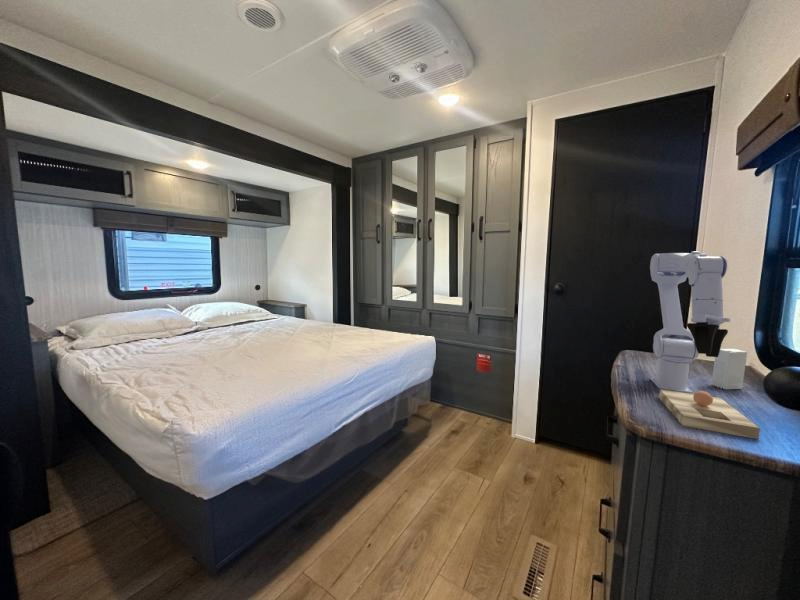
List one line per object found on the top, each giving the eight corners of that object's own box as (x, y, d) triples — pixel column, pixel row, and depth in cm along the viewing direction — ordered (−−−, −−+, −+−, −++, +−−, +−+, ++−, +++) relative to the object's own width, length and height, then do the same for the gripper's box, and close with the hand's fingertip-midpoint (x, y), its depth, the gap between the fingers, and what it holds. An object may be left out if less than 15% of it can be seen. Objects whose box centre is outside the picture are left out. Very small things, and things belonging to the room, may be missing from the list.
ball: (690, 401, 83) (691, 387, 82) (708, 403, 81) (710, 390, 81) (695, 406, 80) (697, 392, 79) (714, 409, 78) (716, 395, 78)
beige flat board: (658, 397, 91) (659, 389, 91) (719, 406, 86) (720, 397, 85) (682, 425, 75) (683, 415, 75) (758, 439, 69) (760, 428, 69)
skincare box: (727, 384, 102) (731, 347, 101) (743, 389, 98) (748, 351, 97) (710, 384, 102) (714, 348, 100) (725, 390, 97) (730, 351, 96)
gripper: (722, 294, 74) (724, 353, 72) (735, 306, 82) (737, 359, 80) (682, 296, 80) (683, 351, 77) (698, 307, 88) (699, 356, 86)
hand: (708, 355), depth 79 cm, fingers open, 7 cm apart
